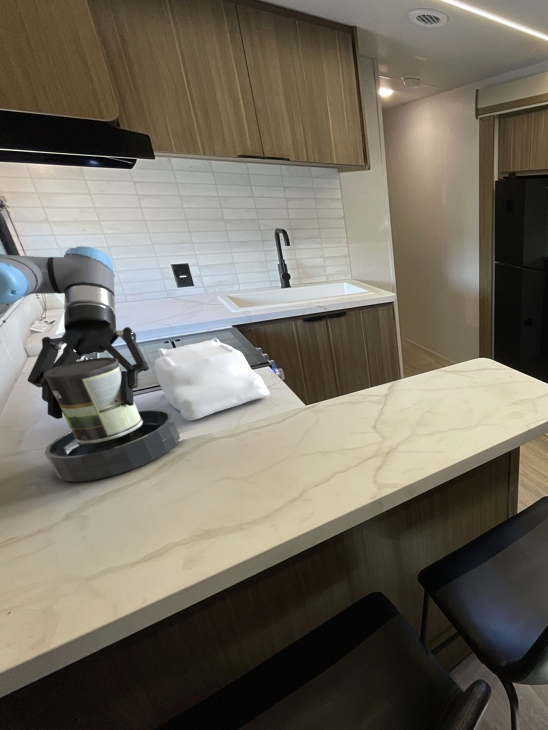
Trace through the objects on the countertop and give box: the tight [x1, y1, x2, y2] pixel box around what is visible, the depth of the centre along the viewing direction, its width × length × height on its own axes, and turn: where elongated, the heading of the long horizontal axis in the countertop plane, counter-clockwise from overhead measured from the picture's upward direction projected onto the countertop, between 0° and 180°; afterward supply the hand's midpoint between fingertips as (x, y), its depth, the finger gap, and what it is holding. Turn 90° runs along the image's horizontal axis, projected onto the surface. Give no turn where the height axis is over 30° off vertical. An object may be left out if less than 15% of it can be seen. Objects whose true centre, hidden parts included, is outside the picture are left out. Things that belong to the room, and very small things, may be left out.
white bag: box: [154, 336, 270, 422], centre depth 107 cm, size 19×30×13 cm, turn 48°
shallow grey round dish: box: [44, 409, 181, 483], centre depth 83 cm, size 19×19×6 cm
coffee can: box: [43, 357, 143, 444], centre depth 79 cm, size 10×10×14 cm
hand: (92, 409), depth 77 cm, fingers closed on coffee can, 10 cm apart
